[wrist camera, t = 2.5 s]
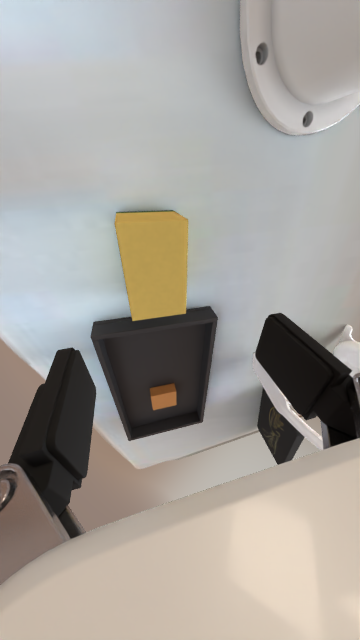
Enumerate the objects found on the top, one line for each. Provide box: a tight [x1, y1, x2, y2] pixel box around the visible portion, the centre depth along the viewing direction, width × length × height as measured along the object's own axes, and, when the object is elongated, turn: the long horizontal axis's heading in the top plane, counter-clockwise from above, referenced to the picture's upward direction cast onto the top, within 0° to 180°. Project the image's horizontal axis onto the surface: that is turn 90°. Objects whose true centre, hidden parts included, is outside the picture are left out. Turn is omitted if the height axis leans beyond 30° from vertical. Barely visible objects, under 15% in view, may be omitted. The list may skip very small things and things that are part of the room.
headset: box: [253, 325, 360, 450], centre depth 28 cm, size 20×7×18 cm, turn 91°
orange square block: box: [150, 383, 177, 410], centre depth 32 cm, size 4×4×2 cm
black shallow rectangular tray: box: [91, 306, 218, 441], centre depth 30 cm, size 25×14×3 cm, turn 0°
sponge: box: [115, 210, 188, 321], centre depth 17 cm, size 8×5×5 cm, turn 0°
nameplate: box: [257, 388, 304, 465], centre depth 43 cm, size 21×2×10 cm, turn 11°
